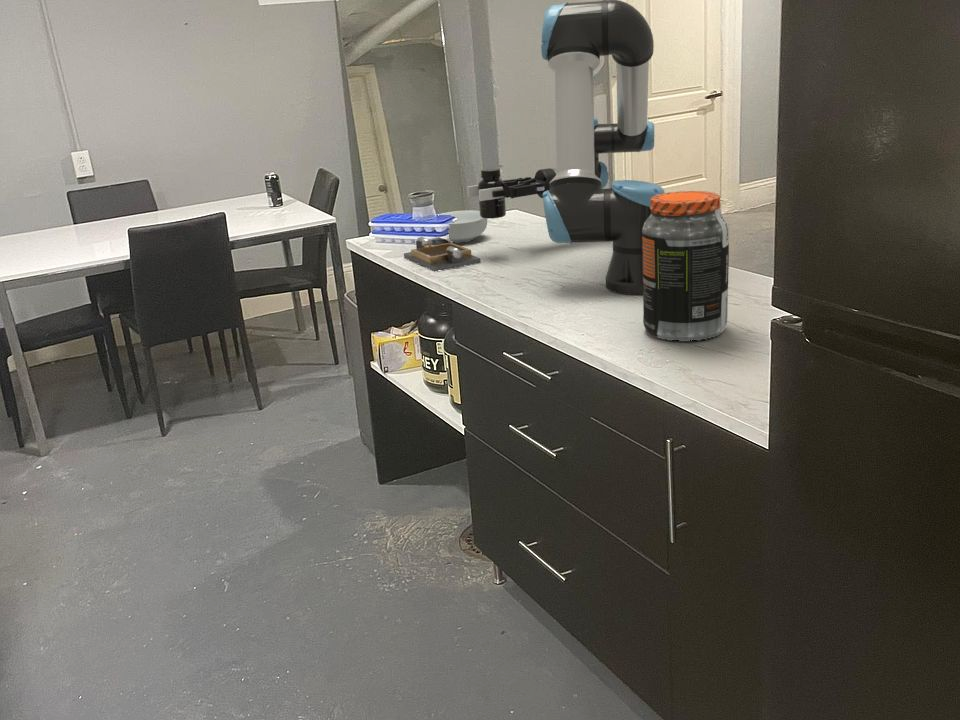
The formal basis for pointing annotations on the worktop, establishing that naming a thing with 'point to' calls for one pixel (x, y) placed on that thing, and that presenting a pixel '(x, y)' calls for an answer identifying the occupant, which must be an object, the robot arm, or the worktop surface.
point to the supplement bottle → (493, 206)
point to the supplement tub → (685, 266)
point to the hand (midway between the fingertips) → (473, 193)
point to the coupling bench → (440, 255)
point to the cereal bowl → (466, 225)
